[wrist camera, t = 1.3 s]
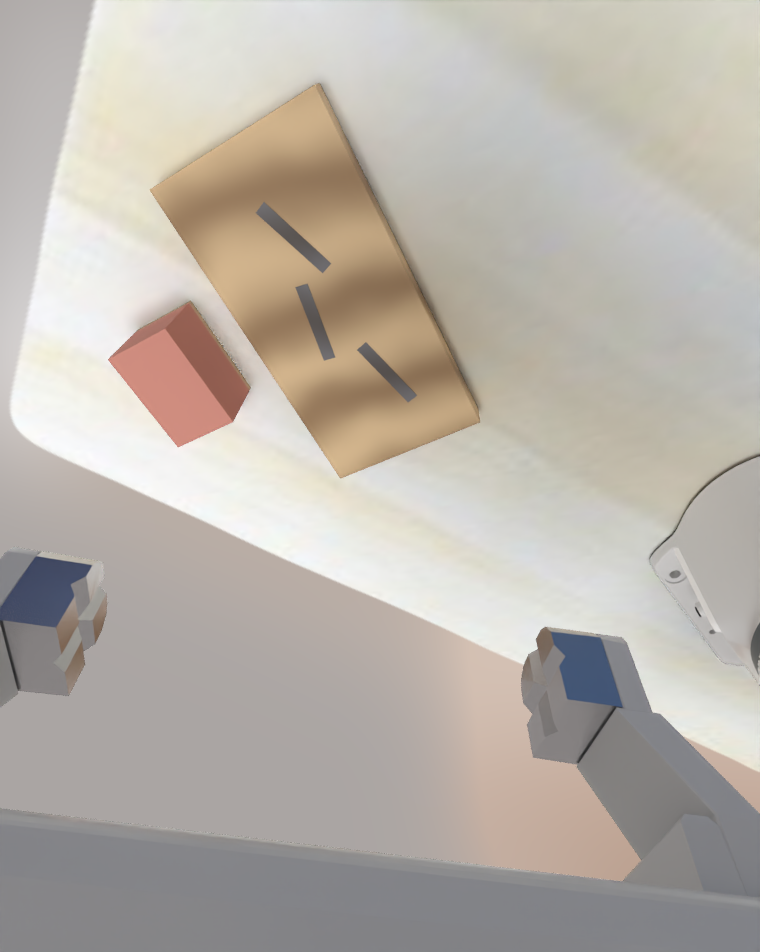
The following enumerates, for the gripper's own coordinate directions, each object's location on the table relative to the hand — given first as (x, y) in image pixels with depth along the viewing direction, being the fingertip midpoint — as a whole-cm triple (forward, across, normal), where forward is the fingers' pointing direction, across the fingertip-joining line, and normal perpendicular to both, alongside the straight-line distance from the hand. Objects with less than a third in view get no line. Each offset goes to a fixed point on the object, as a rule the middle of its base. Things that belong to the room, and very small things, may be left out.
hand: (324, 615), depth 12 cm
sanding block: (+32, +11, +12) cm, 36 cm away
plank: (+31, +2, +6) cm, 32 cm away
